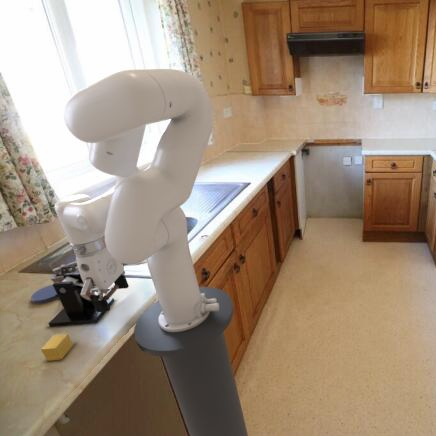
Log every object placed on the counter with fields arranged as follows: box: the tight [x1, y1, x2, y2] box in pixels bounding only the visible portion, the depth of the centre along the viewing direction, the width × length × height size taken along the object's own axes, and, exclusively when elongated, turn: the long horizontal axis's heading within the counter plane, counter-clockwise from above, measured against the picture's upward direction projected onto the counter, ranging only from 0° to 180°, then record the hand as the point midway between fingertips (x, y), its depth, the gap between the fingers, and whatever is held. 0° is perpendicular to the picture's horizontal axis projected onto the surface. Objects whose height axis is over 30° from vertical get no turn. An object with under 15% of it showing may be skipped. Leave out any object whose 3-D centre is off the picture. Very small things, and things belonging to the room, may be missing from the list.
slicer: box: [48, 272, 115, 328], centre depth 87 cm, size 12×9×12 cm
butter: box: [40, 333, 74, 362], centre depth 76 cm, size 4×3×4 cm
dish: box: [30, 284, 59, 305], centre depth 97 cm, size 8×8×1 cm
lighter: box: [50, 261, 79, 284], centre depth 96 cm, size 8×3×10 cm, turn 129°
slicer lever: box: [62, 277, 119, 300], centre depth 86 cm, size 12×5×2 cm, turn 95°
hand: (113, 298), depth 88 cm, fingers open, 9 cm apart
